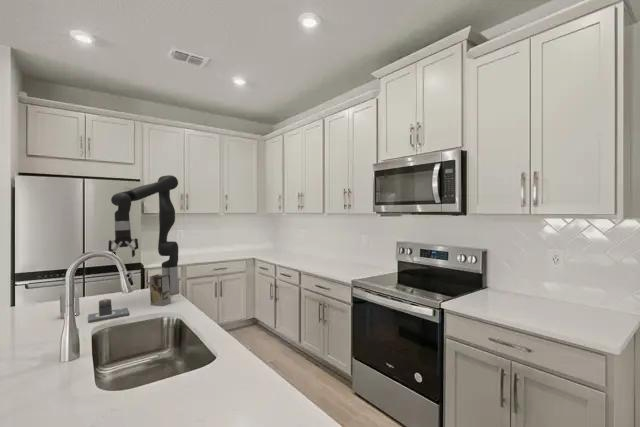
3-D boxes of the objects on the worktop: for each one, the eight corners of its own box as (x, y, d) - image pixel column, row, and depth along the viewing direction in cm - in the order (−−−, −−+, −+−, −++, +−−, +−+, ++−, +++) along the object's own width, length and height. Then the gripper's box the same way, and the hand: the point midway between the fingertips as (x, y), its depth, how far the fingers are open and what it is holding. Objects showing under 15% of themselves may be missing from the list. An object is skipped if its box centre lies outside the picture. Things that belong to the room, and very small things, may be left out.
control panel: (127, 310, 172) (127, 301, 171) (129, 315, 163) (129, 306, 163) (88, 316, 162) (88, 308, 161) (88, 323, 153) (88, 314, 153)
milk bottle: (83, 313, 167) (82, 275, 167) (70, 318, 159) (69, 278, 159) (70, 313, 168) (68, 275, 167) (56, 318, 160) (55, 278, 160)
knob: (111, 314, 161) (111, 299, 161) (99, 316, 158) (98, 301, 157) (111, 311, 165) (110, 297, 165) (99, 313, 162) (98, 299, 162)
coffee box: (171, 302, 184) (170, 274, 183) (163, 305, 178) (162, 277, 177) (158, 301, 186) (157, 274, 186) (149, 304, 180) (148, 276, 180)
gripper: (107, 230, 171) (109, 260, 172) (138, 228, 180) (139, 257, 180) (107, 229, 177) (108, 258, 178) (136, 227, 186) (137, 255, 186)
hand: (124, 257), depth 179 cm, fingers open, 8 cm apart
